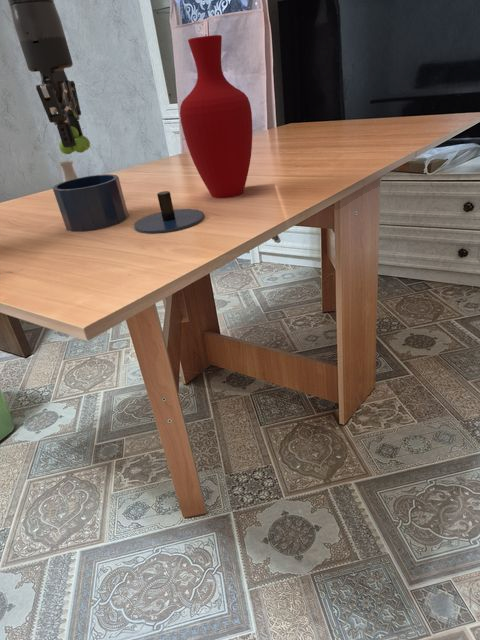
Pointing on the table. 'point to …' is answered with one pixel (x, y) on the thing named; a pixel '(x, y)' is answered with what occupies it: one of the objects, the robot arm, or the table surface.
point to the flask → (67, 170)
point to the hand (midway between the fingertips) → (74, 144)
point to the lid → (168, 217)
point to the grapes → (80, 141)
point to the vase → (217, 123)
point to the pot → (91, 202)
